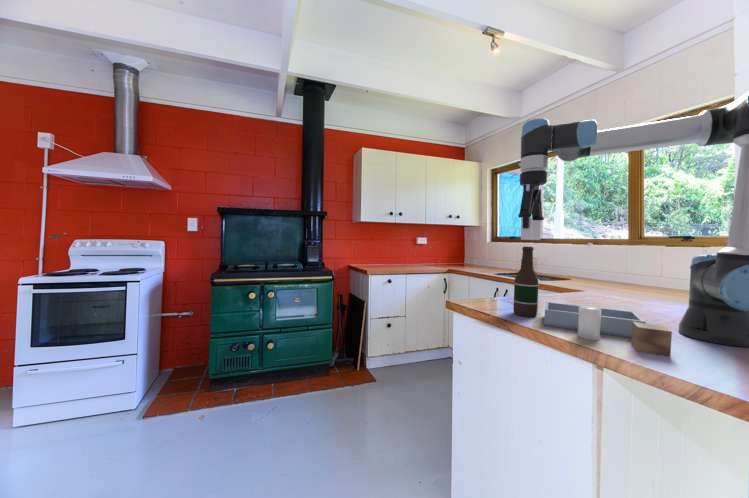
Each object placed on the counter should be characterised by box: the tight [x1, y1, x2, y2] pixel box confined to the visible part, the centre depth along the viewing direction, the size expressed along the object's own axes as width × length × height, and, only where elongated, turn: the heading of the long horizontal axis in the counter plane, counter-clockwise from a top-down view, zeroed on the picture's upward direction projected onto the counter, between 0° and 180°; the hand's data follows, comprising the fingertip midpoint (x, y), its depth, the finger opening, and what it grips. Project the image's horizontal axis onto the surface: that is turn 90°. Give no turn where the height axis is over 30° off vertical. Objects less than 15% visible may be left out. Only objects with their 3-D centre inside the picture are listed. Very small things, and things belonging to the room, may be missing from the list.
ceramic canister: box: [577, 305, 601, 341], centre depth 83 cm, size 5×5×8 cm
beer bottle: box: [513, 246, 539, 318], centre depth 107 cm, size 8×8×24 cm
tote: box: [543, 301, 646, 339], centre depth 93 cm, size 24×14×5 cm, turn 59°
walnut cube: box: [630, 322, 673, 358], centre depth 74 cm, size 6×6×6 cm
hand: (530, 240), depth 96 cm, fingers open, 13 cm apart
